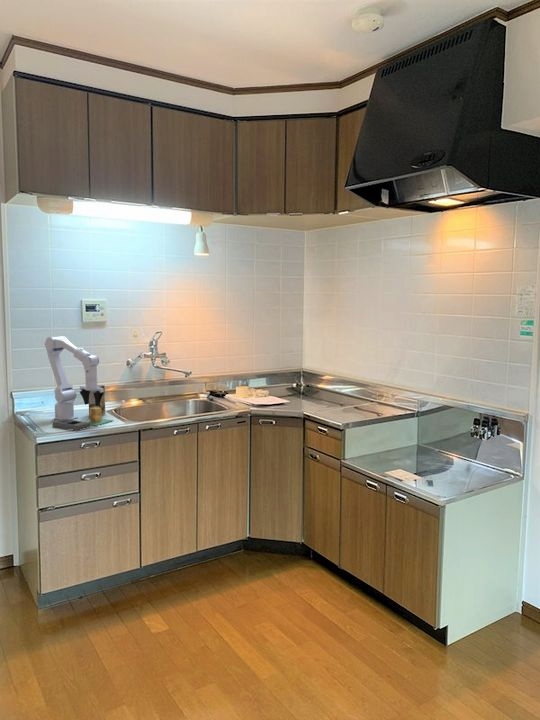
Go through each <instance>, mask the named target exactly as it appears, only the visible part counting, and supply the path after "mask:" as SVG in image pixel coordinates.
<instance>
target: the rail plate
mask: <svg viewBox="0 0 540 720" xmlns="http://www.w3.org/2000/svg"><path fill="white" fill-rule="evenodd" d="M83 421H84V420H76V419H71V420H70V419H62V420H56V421H52V428H57V429H63V430H68V429H73V430H72V431H74V430H79V431H81V430H80V429H83V428H86V429H88V428H87V427H89V428H91V425H90V422H83ZM83 430H84V429H83Z"/></svg>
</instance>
